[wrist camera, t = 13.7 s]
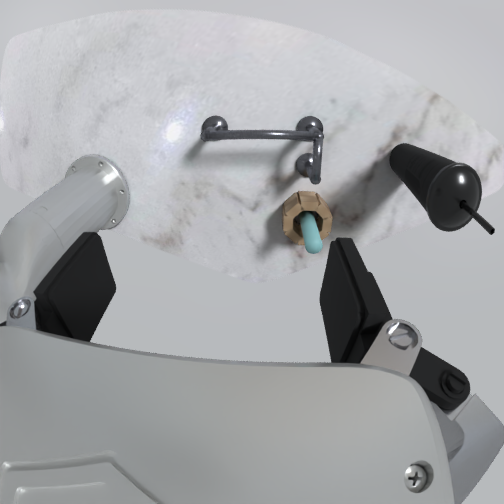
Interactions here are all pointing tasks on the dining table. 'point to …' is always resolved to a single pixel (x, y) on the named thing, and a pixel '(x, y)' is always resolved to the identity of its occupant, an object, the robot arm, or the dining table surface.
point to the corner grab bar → (307, 130)
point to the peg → (310, 231)
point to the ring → (306, 203)
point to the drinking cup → (440, 186)
